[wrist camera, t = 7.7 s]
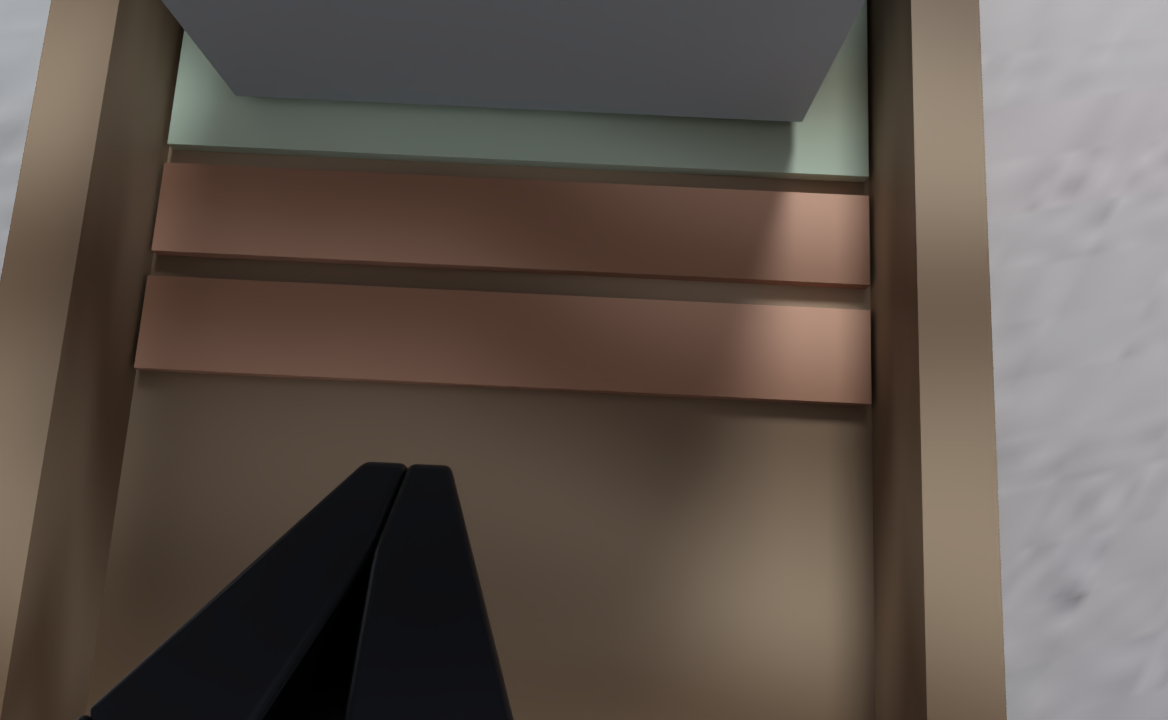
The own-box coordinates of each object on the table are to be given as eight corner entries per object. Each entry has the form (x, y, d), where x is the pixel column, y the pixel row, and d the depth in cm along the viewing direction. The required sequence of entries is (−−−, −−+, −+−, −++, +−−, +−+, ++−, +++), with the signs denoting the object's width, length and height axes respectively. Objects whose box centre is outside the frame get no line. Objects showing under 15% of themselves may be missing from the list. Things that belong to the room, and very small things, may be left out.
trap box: (940, 1044, 16) (1105, 1276, 11) (-11, 991, 16) (-281, 1195, 11) (912, -139, 20) (1019, -359, 15) (174, -171, 20) (43, -399, 15)
